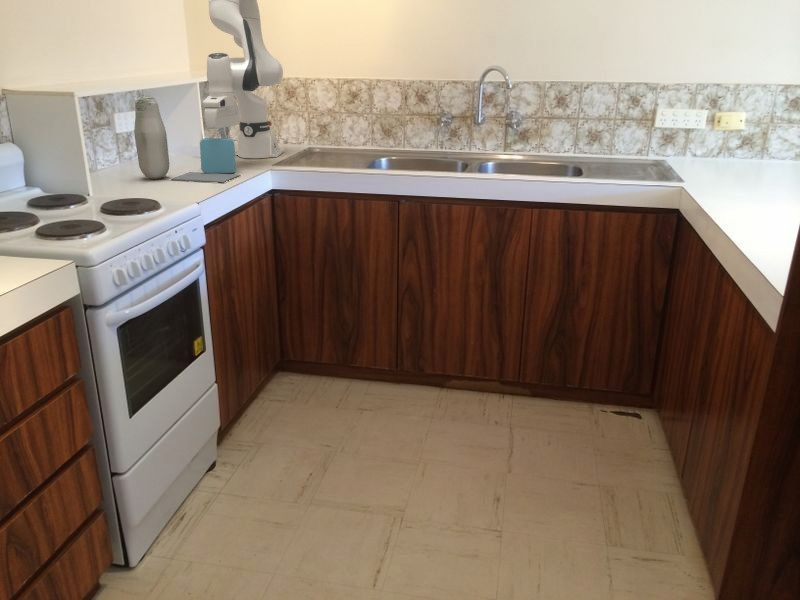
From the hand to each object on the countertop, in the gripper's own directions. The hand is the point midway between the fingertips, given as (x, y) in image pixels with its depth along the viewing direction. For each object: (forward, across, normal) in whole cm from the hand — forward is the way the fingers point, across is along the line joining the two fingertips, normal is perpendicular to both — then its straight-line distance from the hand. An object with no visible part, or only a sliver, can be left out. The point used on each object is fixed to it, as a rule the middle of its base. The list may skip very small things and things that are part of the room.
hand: (225, 139), depth 249 cm
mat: (+12, +16, 0) cm, 20 cm away
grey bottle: (+12, +21, -17) cm, 29 cm away
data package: (+11, +7, 0) cm, 13 cm away
